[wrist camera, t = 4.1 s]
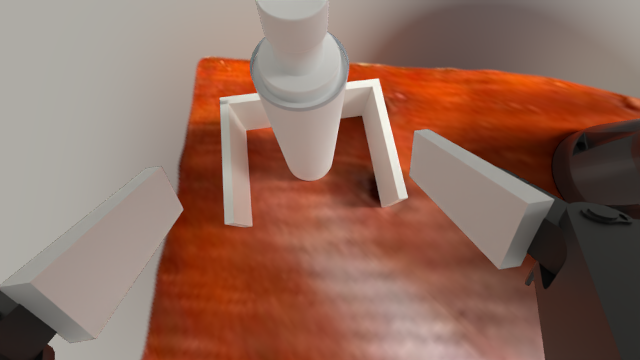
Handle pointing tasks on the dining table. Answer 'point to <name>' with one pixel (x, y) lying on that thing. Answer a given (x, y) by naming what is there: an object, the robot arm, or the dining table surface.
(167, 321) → the dining table surface
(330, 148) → the white bottle
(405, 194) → the storage bay
